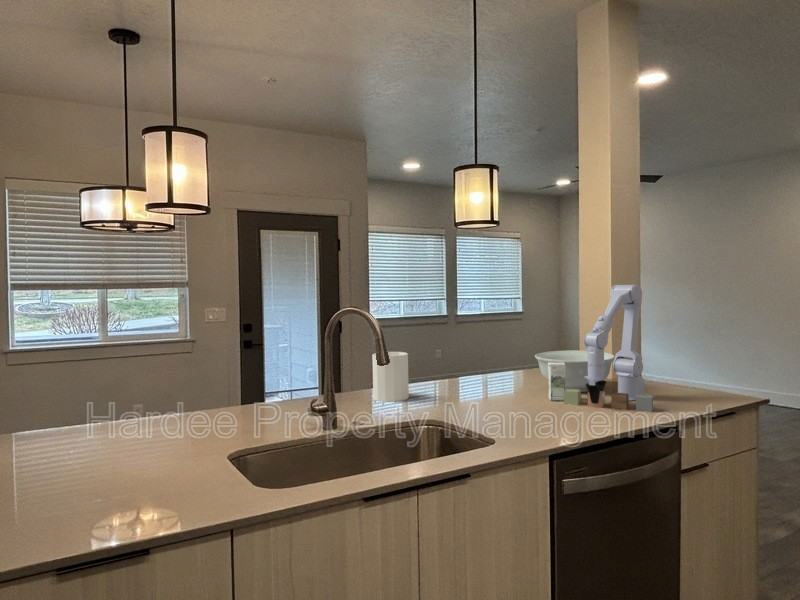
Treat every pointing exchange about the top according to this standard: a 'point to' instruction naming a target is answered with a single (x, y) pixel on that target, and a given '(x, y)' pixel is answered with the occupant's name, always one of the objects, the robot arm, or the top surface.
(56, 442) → the top surface
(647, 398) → the slate block
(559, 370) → the syrup box
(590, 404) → the terracotta block
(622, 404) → the walnut block
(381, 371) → the container
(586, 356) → the bowl
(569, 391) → the olive block
